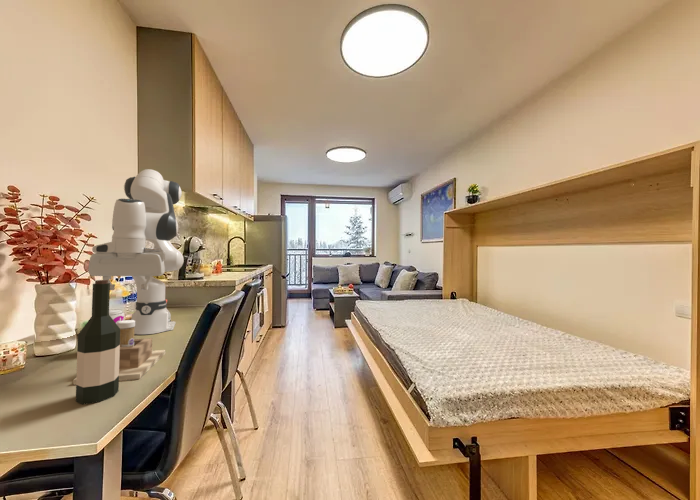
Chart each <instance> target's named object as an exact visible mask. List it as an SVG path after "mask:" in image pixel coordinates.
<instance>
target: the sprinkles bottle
mask: <svg viewBox="0 0 700 500" xmlns="http://www.w3.org/2000/svg"><path fill="white" fill-rule="evenodd" d="M117 325H118V327H119V328H120V347H134V339H135V334H134V328H135V327H134V326H135V320H131V319H126V320H125V319H124V321H120V322H118V324H117Z"/></svg>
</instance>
